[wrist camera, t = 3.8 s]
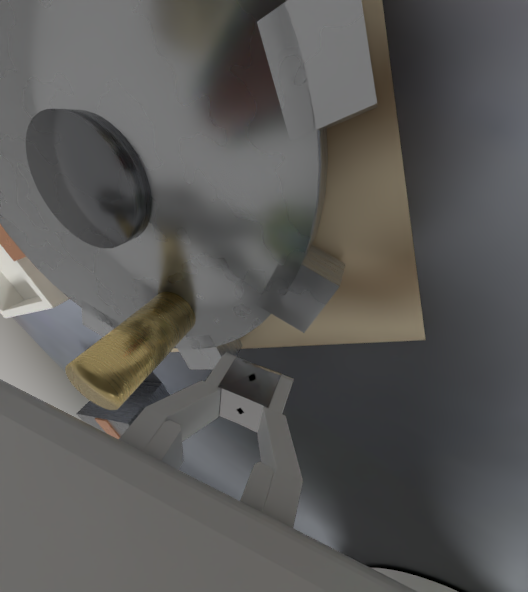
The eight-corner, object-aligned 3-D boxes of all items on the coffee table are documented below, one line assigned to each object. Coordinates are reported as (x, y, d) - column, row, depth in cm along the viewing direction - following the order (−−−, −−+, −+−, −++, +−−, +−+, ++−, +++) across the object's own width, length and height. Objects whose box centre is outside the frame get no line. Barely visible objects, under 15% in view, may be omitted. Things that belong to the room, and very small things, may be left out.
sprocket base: (422, 326, 13) (425, 339, 12) (131, 346, 23) (122, 354, 22) (277, -801, 4) (253, -1015, 3) (-89, 31, 14) (-116, 25, 14)
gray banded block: (179, 408, 26) (148, 452, 23) (131, 401, 30) (97, 439, 26) (163, 381, 25) (127, 424, 21) (114, 377, 28) (75, 414, 24)
